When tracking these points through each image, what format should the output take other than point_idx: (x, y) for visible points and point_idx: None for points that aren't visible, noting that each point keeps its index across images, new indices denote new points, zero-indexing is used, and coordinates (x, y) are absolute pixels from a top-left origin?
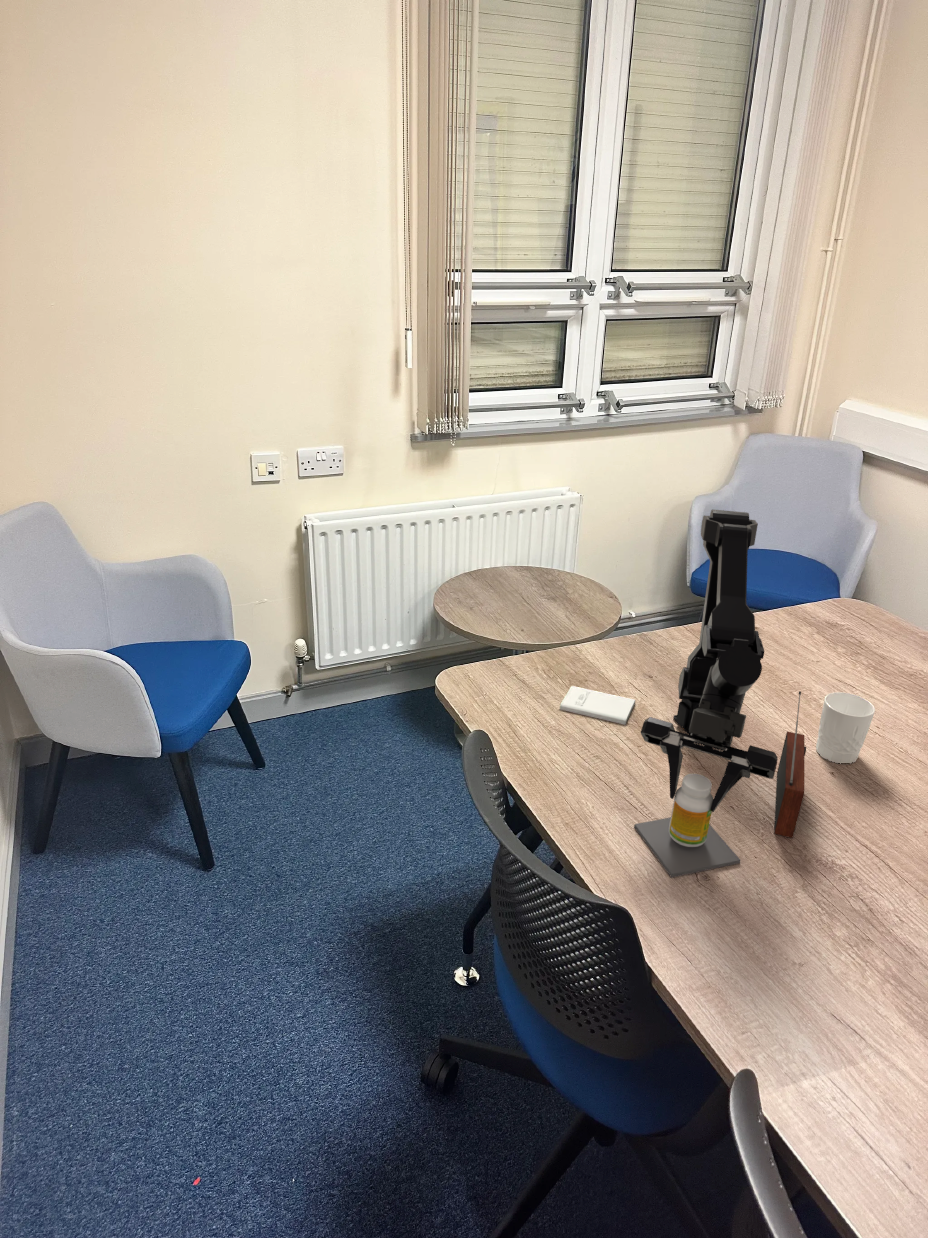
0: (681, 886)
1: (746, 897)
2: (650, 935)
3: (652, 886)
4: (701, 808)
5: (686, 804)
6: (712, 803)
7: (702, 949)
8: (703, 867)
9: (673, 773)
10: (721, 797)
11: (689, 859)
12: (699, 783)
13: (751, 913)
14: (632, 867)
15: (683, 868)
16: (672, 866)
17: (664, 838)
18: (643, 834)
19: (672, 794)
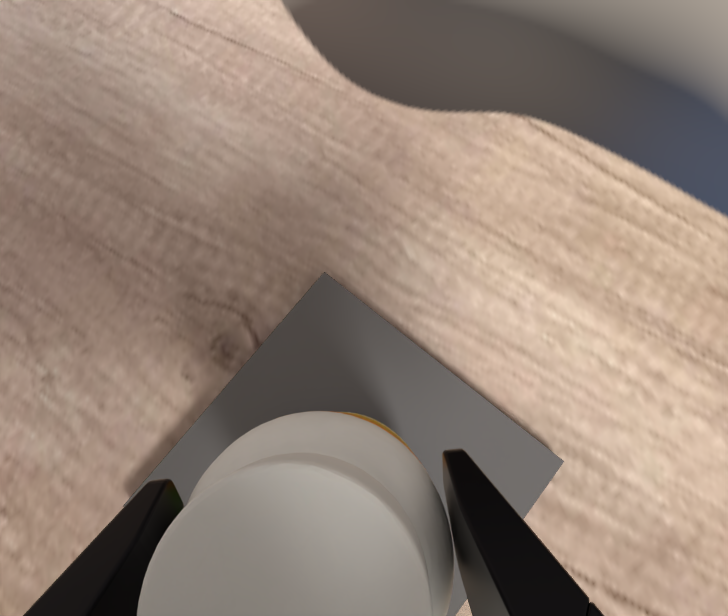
0: (283, 259)
1: (79, 337)
2: (295, 32)
3: (364, 204)
4: (227, 448)
5: (328, 419)
6: (147, 510)
7: (156, 67)
8: (238, 374)
9: (549, 605)
10: (58, 579)
11: (296, 386)
12: (253, 601)
13: (53, 276)
14: (457, 246)
15: (299, 325)
16: (337, 311)
17: (423, 448)
18: (503, 419)
19: (454, 460)
